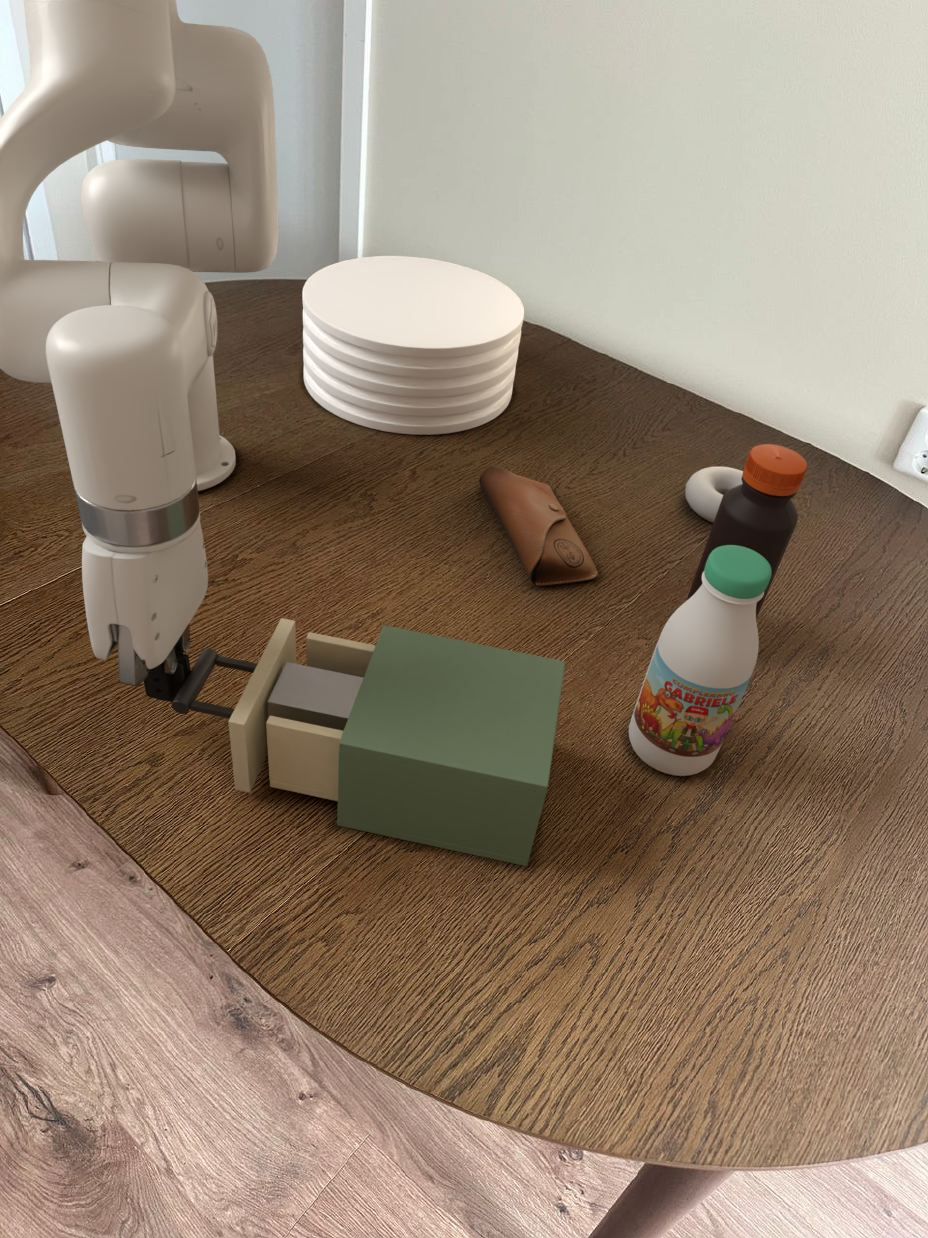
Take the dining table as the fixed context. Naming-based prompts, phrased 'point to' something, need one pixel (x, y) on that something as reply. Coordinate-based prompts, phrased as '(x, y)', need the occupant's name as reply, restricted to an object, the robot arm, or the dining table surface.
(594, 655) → the dining table surface
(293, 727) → the drawer
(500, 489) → the sunglasses case
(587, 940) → the dining table surface
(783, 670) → the dining table surface
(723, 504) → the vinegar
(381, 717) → the cabinet
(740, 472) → the donut
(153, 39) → the robot arm
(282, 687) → the matte grey box
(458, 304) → the plate stack
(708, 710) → the milk bottle
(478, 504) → the dining table surface
